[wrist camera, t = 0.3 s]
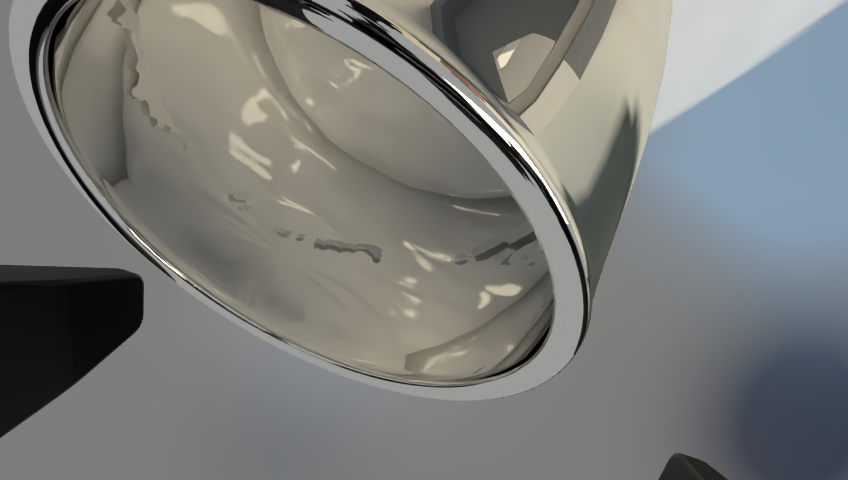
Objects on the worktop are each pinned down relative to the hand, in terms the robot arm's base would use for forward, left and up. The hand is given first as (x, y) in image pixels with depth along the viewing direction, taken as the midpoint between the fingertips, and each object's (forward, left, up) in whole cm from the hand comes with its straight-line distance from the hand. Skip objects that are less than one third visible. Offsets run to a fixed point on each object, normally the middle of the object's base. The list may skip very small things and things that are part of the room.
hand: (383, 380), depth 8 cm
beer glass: (-4, 0, -15) cm, 15 cm away
